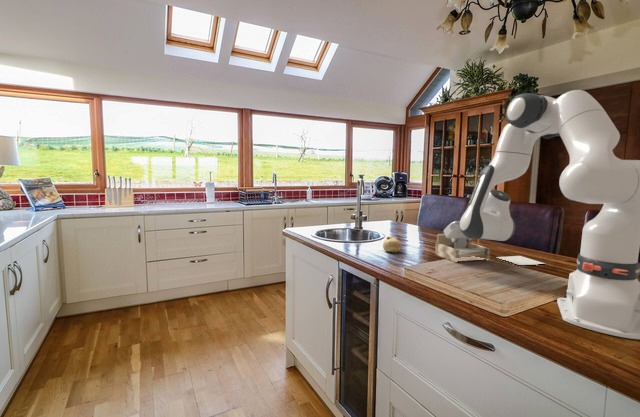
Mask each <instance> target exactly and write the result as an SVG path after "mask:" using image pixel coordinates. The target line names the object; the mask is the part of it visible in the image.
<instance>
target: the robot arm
mask: <svg viewBox="0 0 640 417" xmlns="http://www.w3.org/2000/svg"><path fill="white" fill-rule="evenodd" d="M505 119H506V122H507V124H506V125H505V126H504V127H503V128H502V130H501V133H500V136H499V138H498V141H497V145H496V147H495V152H494V156H493V158H492V160H491V161H490V163H489V164H488V165H486V166H485V167H483V169H482V170H481V171H480V173H479V175H478V178H477V181H476V182H475V185H474V187H473V190H472V191H471V192H472V193H471V196H470V198H469V201H468V203H467V205H466V208H465V209H464V211H463V213H462V215H461V217H460V219H459V220H455V221H452V222H450V224H448V225H447V226H446V227H445V228H444V229H443V234H445V236H446V237H447V238H452V239H451V240H452V242H456V241H458V240H457V238H467V242H469V241H470V240H471V241H472V240H473V239H474V240H479V239H480V240H490V241H492V240H493V241H499V242H500V241H502V242H506V241H507V240H510V238H511V237H512V236H513V235H514V233H515V230H516V225H515V221H514V219H513V218H512V216H511V212H510V204H511V197H510V195H508V193H506V192H504V191H502V190H498V189H493V188H494V187H495V186H497V185H499V184H502V183H503V182H504V183H505V182H509V181H514V180H516V179H518V178H520V177H522V176H523V175H524V174H526V172H527V171H528V169H529V166H530V162H531V160H532V155H533V149H534V145H535V142H536V141H537V140H538V139H539V138H542V139H544V140H549V139H551V138H553V137H560V138H561V140H562V142H563V144H564V146H565V149H566V151H567V153H568V156H569V164H568V165H567V166H566V167H564V170H563V171H562V172H561V174H560V176H559V181H558V182H559V188H560V191H561V193H562V194H563V196H564V197H565V198H567V199H568V200H569V201H574V202H579V203H584V204H589V205H603V206H602V207H601V209H600V211H599V213H598V214H597V215H596V216H595V217H593V218H591V220H588V221H587V222H586V223H585V224H583V228H582V230H581V232H582V234H581V242H580V243H581V244H580V252H579V253H578V255H577V258H576V270H574V271H572V272H570V273H569V276H568V283H567V289H566V290H565V296H566V297H558V298H557V299H556V300H557V301H556V303H557V306H558V308H559V312H560V315H561V318H562V320H563V321H565V322H567V323H569V324H572V325H574V326H577V327H580V328H584V329H586V330H591V331H594V332H598V333H602V334H605V335H610V336H615V337H619V338H625V339H633V340H640V280H639V276H640V262H639V253H640V159H621V158H619V157H618V156H616V155H615V154H614V151H613V150H614V149H615V148H616V147H617V145H618V143H619V142H620V139H621V138H620V137H621V135H620V132H619V130H618V129H617V127H616V125H615V124H614V122H613V121H612V120H611V118H610V116H609V115H608V113H607V111H606V110H605V109H604V107H603V106H602V105H601V104H600V103H599V102H598V101H597V99H595V98H594V97H593V95H591V94H590V93H589V92H587V91H585V90H583V89H574V90H573V89H572V90H570V91H567V92H565V93H563V94H561V95H560V96H558V97H557V98H556V97H555V98H554V97H552V96H547V95H543V94H537V93H531V92H529V93H527V92H526V93H521V94H518V95H516V96H515V97H513V98H512V100H510V102H509V103H508V105H507V107H506V111H505Z"/></svg>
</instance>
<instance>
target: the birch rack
mask: <svg viewBox="0 0 640 417" xmlns="http://www.w3.org/2000/svg"><path fill="white" fill-rule="evenodd" d="M451 239H452V238H447V237H446V236H445V234H444V233H438V234H437V233H436V242H435V244H434V245H435V246H434V247H435V248H434V250H435V251H434V254H435V255H436V256H438V257H441V258H443V259H445V260H448V259H453V258H458V252H459V250H457V249H454V242H452V240H451ZM471 241H472V239H471V240H470V241H469V242H467V244H466V248H481V249H484V250H485V253H484V254H485V256H484V257H485V258H486V259H490V258H491V248H489V247H486V246H483V245H479V244H476V243H473V242H471Z"/></svg>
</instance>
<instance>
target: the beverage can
mask: <svg viewBox="0 0 640 417" xmlns="http://www.w3.org/2000/svg"><path fill="white" fill-rule="evenodd" d="M457 240H458V241H456V242H454V249H464V248H466V244H467V238H457Z"/></svg>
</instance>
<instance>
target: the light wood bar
mask: <svg viewBox="0 0 640 417" xmlns="http://www.w3.org/2000/svg"><path fill="white" fill-rule="evenodd" d="M457 250H459V252H458V258H461V257H471V256H475V257H480V258H485V257H484V256H485V254H484V253H485V250H484V249H481V248H464V249H457Z"/></svg>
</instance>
